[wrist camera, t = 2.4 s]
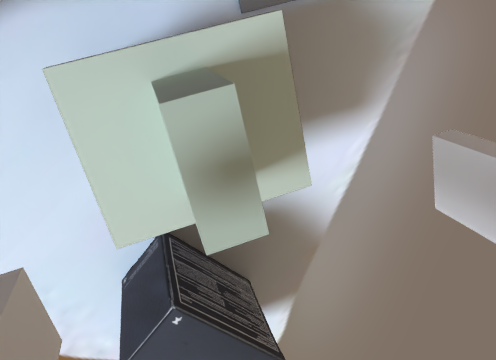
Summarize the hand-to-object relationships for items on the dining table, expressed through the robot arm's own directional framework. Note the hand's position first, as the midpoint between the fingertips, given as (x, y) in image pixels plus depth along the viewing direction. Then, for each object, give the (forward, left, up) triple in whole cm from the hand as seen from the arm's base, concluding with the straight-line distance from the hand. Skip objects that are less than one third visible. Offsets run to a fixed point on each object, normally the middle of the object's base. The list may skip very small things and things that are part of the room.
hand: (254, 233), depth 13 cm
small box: (+15, -4, -21) cm, 27 cm away
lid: (0, 0, -13) cm, 13 cm away
